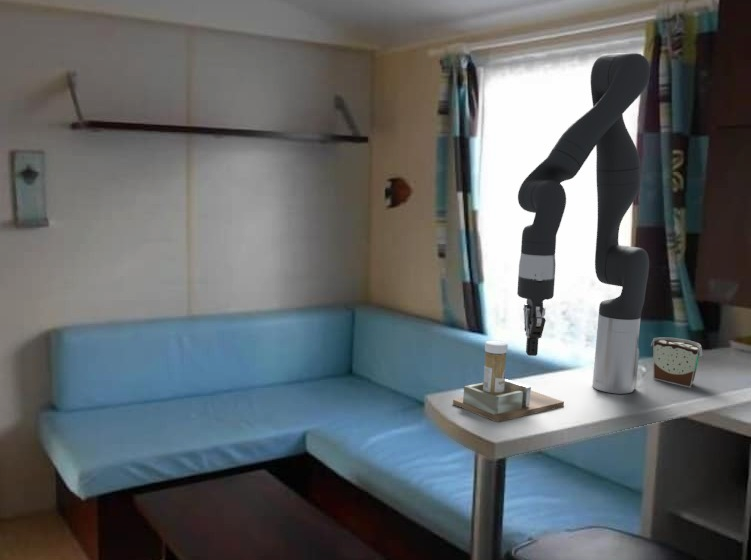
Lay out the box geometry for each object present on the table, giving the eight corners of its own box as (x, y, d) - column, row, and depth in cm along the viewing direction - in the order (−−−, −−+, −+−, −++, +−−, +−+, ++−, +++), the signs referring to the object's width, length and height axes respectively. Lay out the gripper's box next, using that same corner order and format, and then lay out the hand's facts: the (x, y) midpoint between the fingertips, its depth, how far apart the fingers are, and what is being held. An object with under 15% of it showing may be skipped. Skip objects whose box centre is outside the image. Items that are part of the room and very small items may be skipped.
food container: (707, 384, 189) (712, 344, 188) (696, 389, 185) (701, 347, 184) (659, 373, 198) (663, 334, 196) (647, 377, 194) (651, 337, 192)
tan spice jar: (504, 409, 161) (508, 345, 159) (482, 408, 161) (486, 344, 159) (502, 402, 165) (506, 340, 163) (480, 401, 166) (484, 339, 163)
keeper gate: (484, 393, 170) (486, 375, 170) (490, 392, 171) (491, 374, 171) (524, 406, 162) (526, 388, 162) (530, 405, 163) (531, 386, 163)
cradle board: (518, 390, 178) (519, 371, 177) (563, 406, 168) (565, 385, 167) (453, 404, 166) (454, 383, 165) (497, 422, 156) (498, 400, 155)
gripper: (514, 269, 172) (509, 346, 175) (523, 279, 159) (518, 362, 162) (548, 270, 172) (543, 347, 175) (561, 280, 159) (555, 363, 162)
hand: (531, 354), depth 168 cm, fingers closed
